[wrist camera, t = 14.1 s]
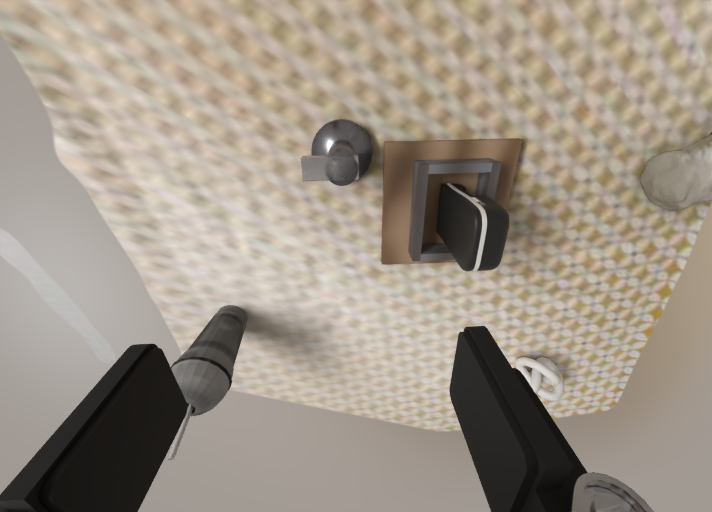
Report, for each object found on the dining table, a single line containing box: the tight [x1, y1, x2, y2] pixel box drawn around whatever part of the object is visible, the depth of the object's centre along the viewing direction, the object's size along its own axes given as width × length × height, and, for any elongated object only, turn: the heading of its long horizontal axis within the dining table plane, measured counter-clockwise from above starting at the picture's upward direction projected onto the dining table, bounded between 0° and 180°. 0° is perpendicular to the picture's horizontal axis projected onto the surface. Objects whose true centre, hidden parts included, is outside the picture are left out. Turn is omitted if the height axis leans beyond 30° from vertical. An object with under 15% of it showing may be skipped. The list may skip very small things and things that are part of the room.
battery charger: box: [436, 183, 509, 272], centre depth 33 cm, size 7×4×11 cm, turn 2°
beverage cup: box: [168, 305, 247, 460], centre depth 37 cm, size 7×7×20 cm
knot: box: [515, 357, 564, 401], centre depth 51 cm, size 8×8×6 cm
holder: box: [381, 139, 523, 264], centre depth 37 cm, size 16×16×4 cm
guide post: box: [301, 119, 372, 186], centre depth 31 cm, size 7×7×10 cm
